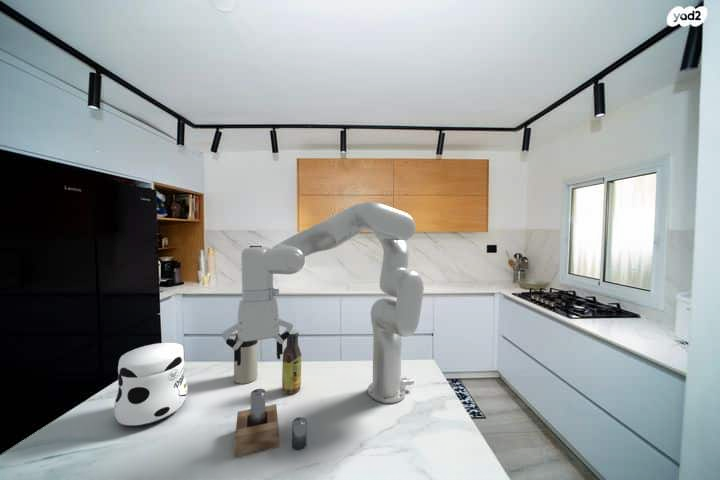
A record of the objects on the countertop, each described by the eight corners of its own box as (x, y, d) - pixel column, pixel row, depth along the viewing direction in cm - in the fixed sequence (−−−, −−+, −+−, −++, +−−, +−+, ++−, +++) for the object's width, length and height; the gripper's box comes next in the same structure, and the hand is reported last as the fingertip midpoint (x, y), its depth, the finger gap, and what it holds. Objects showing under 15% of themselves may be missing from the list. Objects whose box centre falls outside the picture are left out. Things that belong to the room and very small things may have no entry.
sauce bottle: (296, 396, 92) (296, 336, 91) (278, 394, 93) (278, 334, 93) (304, 386, 98) (304, 329, 98) (287, 383, 100) (287, 328, 99)
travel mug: (252, 384, 99) (252, 334, 98) (229, 384, 99) (230, 333, 98) (260, 373, 107) (260, 326, 106) (239, 373, 107) (239, 326, 106)
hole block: (276, 421, 80) (276, 404, 79) (278, 446, 70) (278, 427, 70) (237, 429, 76) (237, 411, 76) (234, 457, 67) (234, 436, 67)
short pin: (305, 438, 73) (305, 415, 73) (307, 448, 70) (307, 424, 70) (291, 441, 72) (291, 418, 72) (292, 452, 69) (293, 427, 68)
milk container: (200, 404, 87) (200, 347, 87) (136, 441, 71) (135, 371, 71) (165, 390, 94) (165, 337, 94) (101, 421, 79) (100, 358, 78)
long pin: (264, 431, 75) (265, 387, 75) (265, 441, 72) (265, 395, 72) (250, 434, 74) (250, 390, 74) (250, 444, 71) (250, 397, 71)
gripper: (290, 289, 79) (291, 349, 79) (222, 294, 73) (224, 359, 73) (293, 295, 72) (294, 361, 72) (218, 301, 66) (220, 373, 66)
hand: (259, 360), depth 73 cm, fingers open, 9 cm apart
